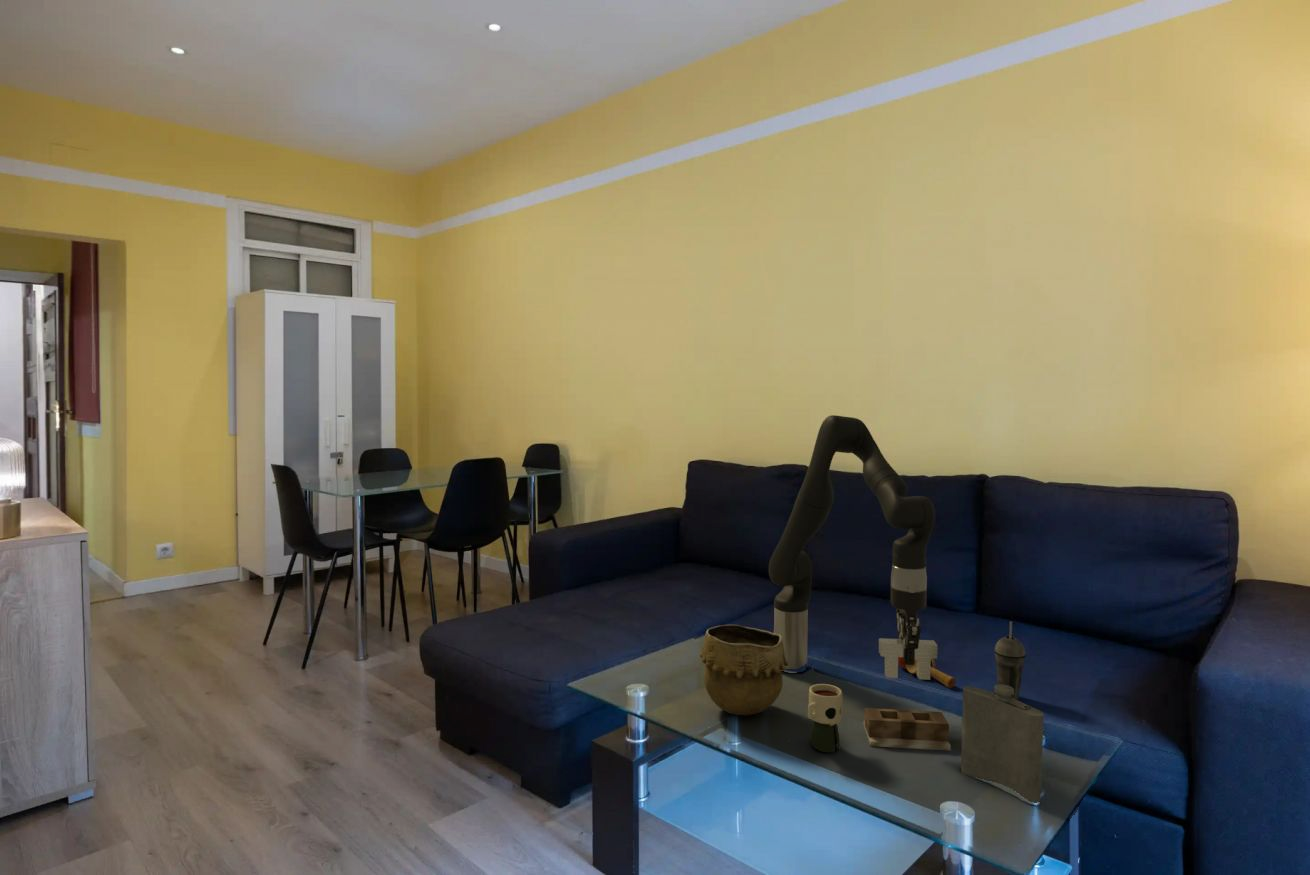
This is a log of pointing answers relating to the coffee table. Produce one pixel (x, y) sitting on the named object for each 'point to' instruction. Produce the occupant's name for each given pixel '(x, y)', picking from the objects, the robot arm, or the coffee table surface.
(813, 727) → the character mug
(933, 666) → the kendama
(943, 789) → the coffee table surface
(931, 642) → the clip
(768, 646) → the clay pot
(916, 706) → the coffee table surface
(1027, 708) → the hip flask
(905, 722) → the brown wooden block
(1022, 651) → the beverage cup
